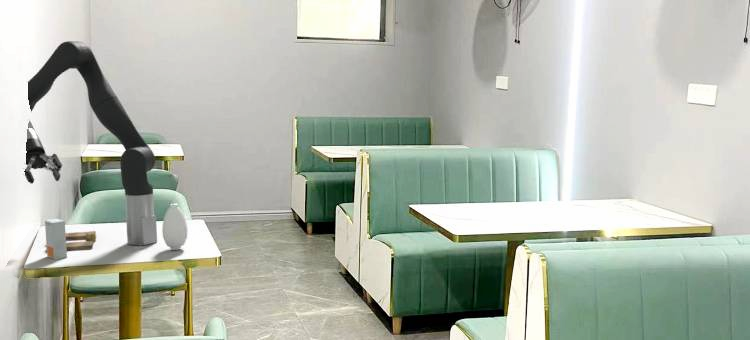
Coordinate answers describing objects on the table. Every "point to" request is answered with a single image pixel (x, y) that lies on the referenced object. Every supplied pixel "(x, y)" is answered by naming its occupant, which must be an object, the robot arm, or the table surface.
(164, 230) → the white vase
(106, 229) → the table surface
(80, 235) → the brown wooden frame
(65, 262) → the table surface
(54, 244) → the skincare box
